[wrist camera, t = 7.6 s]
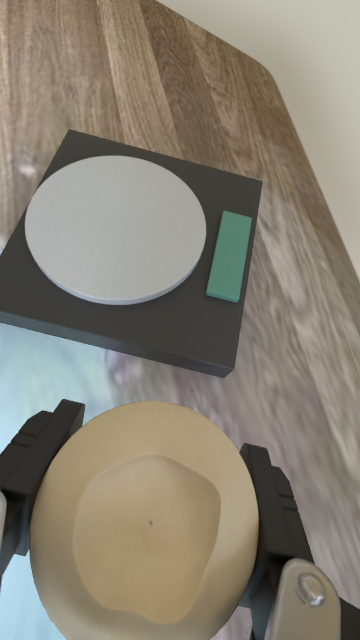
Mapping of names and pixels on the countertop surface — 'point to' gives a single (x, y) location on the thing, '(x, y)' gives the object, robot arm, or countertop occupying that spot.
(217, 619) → the candle
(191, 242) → the kitchen scale
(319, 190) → the countertop surface
